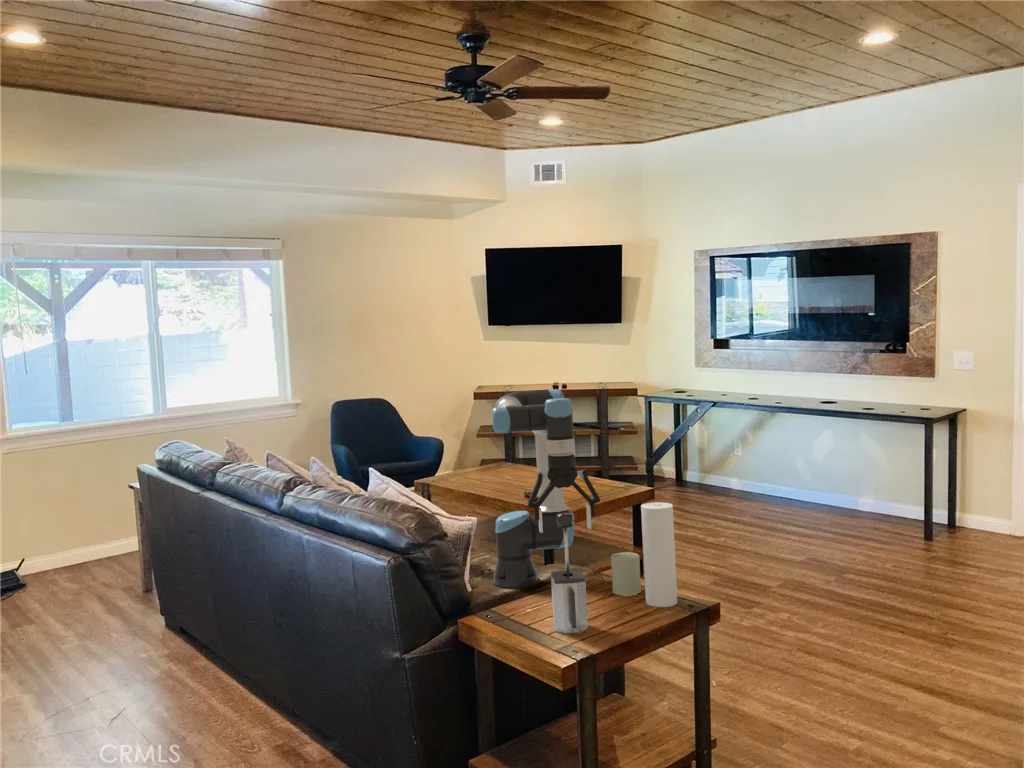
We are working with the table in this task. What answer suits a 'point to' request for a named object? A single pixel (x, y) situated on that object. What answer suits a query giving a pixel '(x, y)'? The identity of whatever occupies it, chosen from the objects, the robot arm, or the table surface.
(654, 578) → the cylinder container
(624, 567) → the can
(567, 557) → the plunger
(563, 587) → the press carafe
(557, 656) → the table surface
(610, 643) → the table surface
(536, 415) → the robot arm
